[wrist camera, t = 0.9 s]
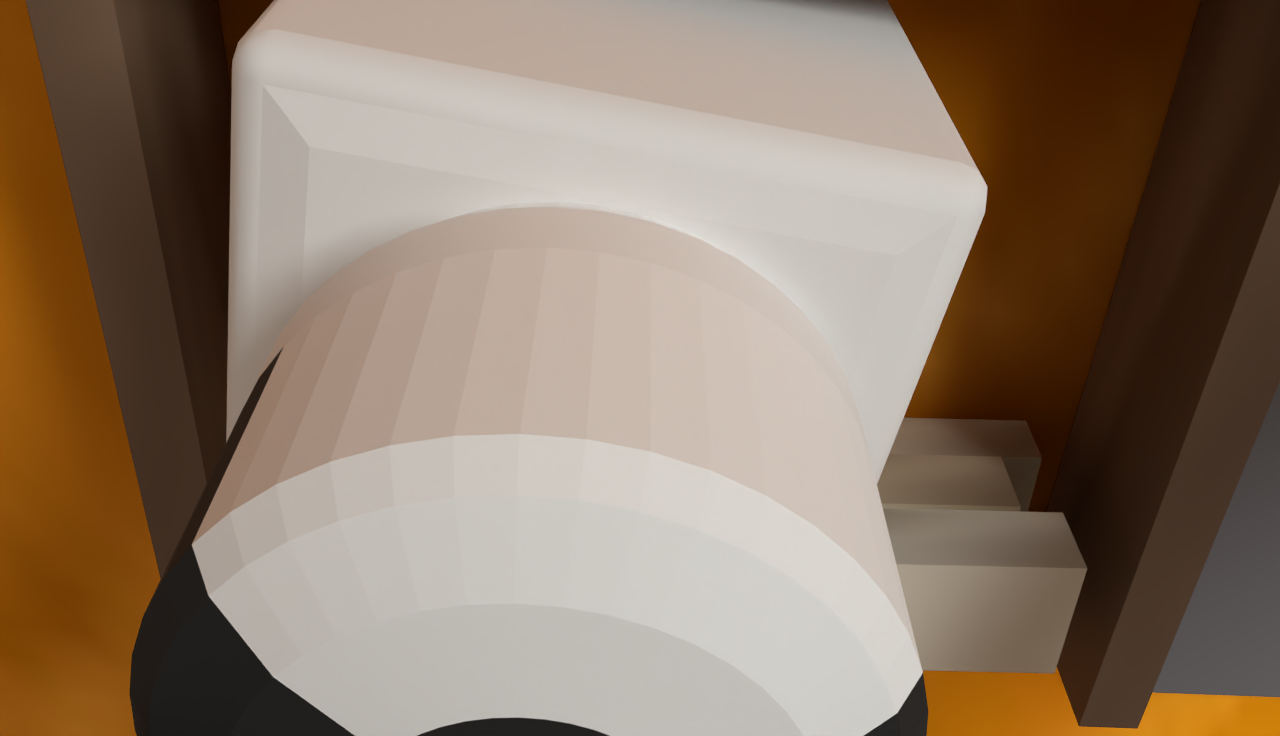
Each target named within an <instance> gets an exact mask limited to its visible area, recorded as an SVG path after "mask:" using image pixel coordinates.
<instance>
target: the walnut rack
mask: <svg viewBox="0 0 1280 736" xmlns="http://www.w3.org/2000/svg"><path fill="white" fill-rule="evenodd" d="M26 3H27V8H28V12H29V16H30V21H31V25H32V29H33V33H34V38H35V42H36V46H37V51H38V55H39V59H40V63H41V68H42V72H43V76H44V81H45V85H46V89H47V93H48V98H49V102H50V106H51V111H52V115H53V119H54V123H55V128H56V132H57V136H58V141H59V145H60V149H61V153H62V158H63V162H64V166H65V171H66V175H67V179H68V183H69V188H70V192H71V196H72V201H73V205H74V209H75V213H76V218H77V222H78V226H79V230H80V235H81V239H82V243H83V248H84V252H85V256H86V260H87V265H88V269H89V273H90V278H91V282H92V286H93V290H94V295H95V299H96V303H97V308H98V312H99V316H100V320H101V325H102V329H103V333H104V338H105V342H106V346H107V350H108V355H109V359H110V363H111V368H112V372H113V376H114V380H115V385H116V389H117V393H118V398H119V402H120V406H121V410H122V415H123V419H124V423H125V428H126V432H127V436H128V440H129V445H130V449H131V453H132V458H133V462H134V466H135V470H136V475H137V479H138V483H139V488H140V492H141V496H142V500H143V505H144V509H145V513H146V518H147V522H148V526H149V530H150V535H151V539H152V543H153V548H154V552H155V556H156V560H157V565H158V569H159V573H160V577H161V578H162V576H163V574H164V572H165V570H166V568H167V566H168V564H169V562H170V560H171V557H172V555H173V553H174V551H175V549H176V547H177V545H178V543H179V541H180V539H181V537H182V534H183V532H184V530H185V528H186V526H187V524H188V522H189V520H190V518H191V516H192V514H193V511H194V509H195V507H196V505H197V503H198V501H199V499H200V497H201V495H202V493H203V491H204V488H205V486H206V484H207V482H208V480H209V478H210V476H211V474H212V472H213V470H214V468H215V465H216V463H217V461H218V459H219V457H220V455H221V453H222V451H223V449H224V447H225V445H226V427H227V361H228V295H229V230H230V164H231V98H232V96H231V89H230V82H229V75H228V69H227V62H226V55H225V48H224V41H223V34H222V27H221V21H220V14H219V7H218V0H26ZM1279 382H1280V0H1202V2H1201V5H1200V8H1199V12H1198V15H1197V18H1196V22H1195V25H1194V28H1193V31H1192V35H1191V38H1190V41H1189V45H1188V48H1187V51H1186V54H1185V58H1184V61H1183V64H1182V68H1181V71H1180V74H1179V78H1178V81H1177V84H1176V87H1175V91H1174V94H1173V97H1172V101H1171V104H1170V107H1169V111H1168V114H1167V117H1166V120H1165V124H1164V127H1163V130H1162V134H1161V137H1160V140H1159V144H1158V147H1157V150H1156V153H1155V157H1154V160H1153V163H1152V167H1151V170H1150V173H1149V176H1148V180H1147V183H1146V186H1145V190H1144V193H1143V196H1142V200H1141V203H1140V206H1139V209H1138V213H1137V216H1136V219H1135V223H1134V226H1133V229H1132V233H1131V236H1130V239H1129V242H1128V246H1127V249H1126V252H1125V256H1124V259H1123V262H1122V265H1121V269H1120V272H1119V275H1118V279H1117V282H1116V285H1115V289H1114V292H1113V295H1112V298H1111V302H1110V305H1109V308H1108V312H1107V315H1106V318H1105V322H1104V325H1103V328H1102V331H1101V335H1100V338H1099V341H1098V345H1097V348H1096V351H1095V355H1094V358H1093V361H1092V364H1091V368H1090V371H1089V374H1088V378H1087V381H1086V384H1085V387H1084V391H1083V394H1082V397H1081V401H1080V404H1079V407H1078V411H1077V414H1076V417H1075V420H1074V424H1073V427H1072V430H1071V434H1070V437H1069V440H1068V444H1067V447H1066V450H1065V453H1064V457H1063V460H1062V463H1061V467H1060V470H1059V473H1058V476H1057V480H1056V483H1055V486H1054V490H1053V493H1052V496H1051V500H1050V503H1049V506H1048V509H1047V512H1062V513H1063V514H1064V516H1065V518H1066V521H1067V523H1068V525H1069V528H1070V530H1071V532H1072V535H1073V537H1074V539H1075V541H1076V544H1077V546H1078V548H1079V551H1080V553H1081V555H1082V557H1083V560H1084V562H1085V564H1086V567H1087V571H1086V574H1085V578H1084V581H1083V584H1082V587H1081V590H1080V594H1079V597H1078V600H1077V603H1076V606H1075V609H1074V613H1073V616H1072V619H1071V622H1070V625H1069V629H1068V632H1067V635H1066V638H1065V641H1064V644H1063V648H1062V651H1061V654H1060V657H1059V660H1058V664H1057V668H1058V671H1059V673H1060V676H1061V679H1062V681H1063V684H1064V687H1065V690H1066V692H1067V695H1068V698H1069V700H1070V703H1071V706H1072V709H1073V711H1074V714H1075V717H1076V719H1077V722H1078V725H1079V726H1087V727H1114V728H1138V726H1139V723H1140V721H1141V719H1142V716H1143V714H1144V711H1145V709H1146V706H1147V704H1148V701H1149V699H1150V697H1151V694H1152V692H1153V689H1154V687H1155V684H1156V682H1157V680H1158V677H1159V675H1160V672H1161V670H1162V667H1163V665H1164V662H1165V660H1166V658H1167V655H1168V653H1169V650H1170V648H1171V645H1172V643H1173V641H1174V638H1175V636H1176V633H1177V631H1178V628H1179V626H1180V623H1181V621H1182V619H1183V616H1184V614H1185V611H1186V609H1187V606H1188V604H1189V602H1190V599H1191V597H1192V594H1193V592H1194V589H1195V587H1196V584H1197V582H1198V580H1199V577H1200V575H1201V572H1202V570H1203V567H1204V565H1205V562H1206V560H1207V558H1208V555H1209V553H1210V550H1211V548H1212V545H1213V543H1214V541H1215V538H1216V536H1217V533H1218V531H1219V528H1220V526H1221V523H1222V521H1223V519H1224V516H1225V514H1226V511H1227V509H1228V506H1229V504H1230V502H1231V499H1232V497H1233V494H1234V492H1235V489H1236V487H1237V484H1238V482H1239V480H1240V477H1241V475H1242V472H1243V470H1244V467H1245V465H1246V463H1247V460H1248V458H1249V455H1250V453H1251V450H1252V448H1253V445H1254V443H1255V441H1256V438H1257V436H1258V433H1259V431H1260V428H1261V426H1262V424H1263V421H1264V419H1265V416H1266V414H1267V411H1268V409H1269V406H1270V404H1271V402H1272V399H1273V397H1274V394H1275V392H1276V389H1277V387H1278V385H1279Z"/></svg>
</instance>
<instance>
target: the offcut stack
mask: <svg viewBox="0 0 1280 736" xmlns="http://www.w3.org/2000/svg"><path fill="white" fill-rule="evenodd" d="M1041 461H1042V456H1041V454H1040V451H1039V449H1038V447H1037V444H1036V442H1035V440H1034V438H1033V435H1032V433H1031V431H1030V429H1029V426H1028V424H1027V422H1026V421H1018V420H979V419H940V418H903V420H902V423H901V425H900V428H899V430H898V433H897V435H896V438H895V440H894V443H893V445H892V448H891V450H890V453H889V455H888V458H887V460H886V463H885V466H884V468H883V471H882V473H881V476H880V478H879V481H878V483H877V487H878V491H879V495H880V500H881V504H882V508H883V512H884V516H885V520H886V524H887V528H888V532H889V536H890V540H891V544H892V549H893V553H894V557H895V561H896V565H897V569H898V573H899V577H900V581H901V585H902V589H903V593H904V597H905V602H906V606H907V610H908V614H909V618H910V622H911V626H912V630H913V634H914V638H915V642H916V646H917V651H918V655H919V659H920V663H921V667H922V670H929V671H974V672H1020V673H1055V670H1056V667H1057V664H1058V660H1059V657H1060V654H1061V651H1062V648H1063V644H1064V641H1065V638H1066V635H1067V632H1068V629H1069V625H1070V622H1071V619H1072V616H1073V613H1074V609H1075V606H1076V603H1077V600H1078V597H1079V594H1080V590H1081V587H1082V584H1083V581H1084V578H1085V574H1086V571H1087V567H1086V564H1085V562H1084V560H1083V557H1082V555H1081V553H1080V551H1079V548H1078V546H1077V544H1076V541H1075V539H1074V537H1073V535H1072V532H1071V530H1070V528H1069V525H1068V523H1067V521H1066V518H1065V516H1064V514H1063V513H1062V512H1028V509H1029V505H1030V502H1031V498H1032V494H1033V490H1034V487H1035V483H1036V479H1037V476H1038V472H1039V468H1040V464H1041Z"/></svg>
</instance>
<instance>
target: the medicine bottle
mask: <svg viewBox="0 0 1280 736" xmlns="http://www.w3.org/2000/svg"><path fill="white" fill-rule="evenodd" d="M986 200H987V185H986V183H985V181H984V179H983V177H982V175H981V174H980V172H979V170H978V168H977V166H976V164H975V162H974V161H973V159H972V157H971V155H970V153H969V151H968V149H967V147H966V146H965V144H964V142H963V140H962V138H961V136H960V134H959V133H958V131H957V129H956V127H955V125H954V123H953V121H952V120H951V118H950V116H949V114H948V112H947V110H946V108H945V107H944V105H943V103H942V101H941V99H940V97H939V95H938V94H937V92H936V90H935V88H934V86H933V84H932V82H931V80H930V79H929V77H928V75H927V73H926V71H925V69H924V67H923V66H922V64H921V62H920V60H919V58H918V56H917V54H916V53H915V51H914V49H913V47H912V45H911V43H910V41H909V40H908V38H907V36H906V34H905V32H904V30H903V28H902V27H901V25H900V23H899V21H898V19H897V17H896V15H895V14H894V12H893V10H892V8H891V6H890V4H889V2H888V0H274V1H273V2H272V3H271V4H270V5H269V6H268V8H267V9H266V10H265V11H264V12H263V13H262V15H261V16H260V17H259V18H258V19H257V21H256V22H255V23H254V24H253V25H252V26H251V28H250V29H249V30H248V31H247V32H246V33H245V35H244V36H243V37H242V38H241V39H240V41H239V42H238V44H237V47H236V51H235V54H234V57H233V60H232V98H231V164H230V230H229V295H228V361H227V427H226V445H225V447H224V449H223V451H222V453H221V455H220V457H219V459H218V461H217V463H216V465H215V468H214V470H213V472H212V474H211V476H210V478H209V480H208V482H207V484H206V486H205V488H204V491H203V493H202V495H201V497H200V499H199V501H198V503H197V505H196V507H195V509H194V511H193V514H192V516H191V518H190V520H189V522H188V524H187V526H186V528H185V530H184V532H183V534H182V537H181V539H180V541H179V543H178V545H177V547H176V549H175V551H174V553H173V555H172V557H171V560H170V562H169V564H168V566H167V568H166V570H165V572H164V574H163V576H162V578H161V580H160V583H159V585H158V587H157V589H156V591H155V593H154V595H153V597H152V599H151V601H150V603H149V606H148V608H147V610H146V612H145V614H144V616H143V619H142V622H141V626H140V629H139V633H138V636H137V640H136V643H135V647H134V650H133V654H132V664H131V680H130V699H131V706H132V712H133V719H134V725H135V731H136V734H137V736H926V733H927V720H928V706H927V699H926V691H925V684H924V677H923V671H922V667H921V663H920V659H919V655H918V651H917V646H916V642H915V638H914V634H913V630H912V626H911V622H910V618H909V614H908V610H907V606H906V602H905V597H904V593H903V589H902V585H901V581H900V577H899V573H898V569H897V565H896V561H895V557H894V553H893V549H892V544H891V540H890V536H889V532H888V528H887V524H886V520H885V516H884V512H883V508H882V504H881V500H880V495H879V491H878V487H877V483H878V481H879V478H880V476H881V473H882V471H883V468H884V466H885V463H886V460H887V458H888V455H889V453H890V450H891V448H892V445H893V443H894V440H895V438H896V435H897V433H898V430H899V428H900V425H901V423H902V420H903V418H904V415H905V413H906V410H907V408H908V405H909V403H910V400H911V398H912V395H913V393H914V390H915V388H916V385H917V383H918V380H919V378H920V375H921V373H922V370H923V368H924V365H925V363H926V360H927V357H928V355H929V352H930V350H931V347H932V345H933V342H934V340H935V337H936V335H937V332H938V330H939V327H940V325H941V322H942V320H943V317H944V315H945V312H946V310H947V307H948V305H949V302H950V300H951V297H952V295H953V292H954V290H955V287H956V285H957V282H958V280H959V277H960V275H961V272H962V270H963V267H964V265H965V262H966V260H967V257H968V254H969V252H970V249H971V247H972V244H973V242H974V239H975V237H976V234H977V232H978V229H979V227H980V224H981V222H982V219H983V217H984V214H985V209H986Z"/></svg>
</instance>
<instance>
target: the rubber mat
mask: <svg viewBox="0 0 1280 736" xmlns="http://www.w3.org/2000/svg"><path fill="white" fill-rule="evenodd" d="M1153 692H1156V693H1183V694H1210V695H1237V696H1264V697H1280V382H1279V385H1278V387H1277V389H1276V392H1275V394H1274V397H1273V399H1272V402H1271V404H1270V406H1269V409H1268V411H1267V414H1266V416H1265V419H1264V421H1263V424H1262V426H1261V428H1260V431H1259V433H1258V436H1257V438H1256V441H1255V443H1254V445H1253V448H1252V450H1251V453H1250V455H1249V458H1248V460H1247V463H1246V465H1245V467H1244V470H1243V472H1242V475H1241V477H1240V480H1239V482H1238V484H1237V487H1236V489H1235V492H1234V494H1233V497H1232V499H1231V502H1230V504H1229V506H1228V509H1227V511H1226V514H1225V516H1224V519H1223V521H1222V523H1221V526H1220V528H1219V531H1218V533H1217V536H1216V538H1215V541H1214V543H1213V545H1212V548H1211V550H1210V553H1209V555H1208V558H1207V560H1206V562H1205V565H1204V567H1203V570H1202V572H1201V575H1200V577H1199V580H1198V582H1197V584H1196V587H1195V589H1194V592H1193V594H1192V597H1191V599H1190V602H1189V604H1188V606H1187V609H1186V611H1185V614H1184V616H1183V619H1182V621H1181V623H1180V626H1179V628H1178V631H1177V633H1176V636H1175V638H1174V641H1173V643H1172V645H1171V648H1170V650H1169V653H1168V655H1167V658H1166V660H1165V662H1164V665H1163V667H1162V670H1161V672H1160V675H1159V677H1158V680H1157V682H1156V684H1155V687H1154V689H1153Z"/></svg>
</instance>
